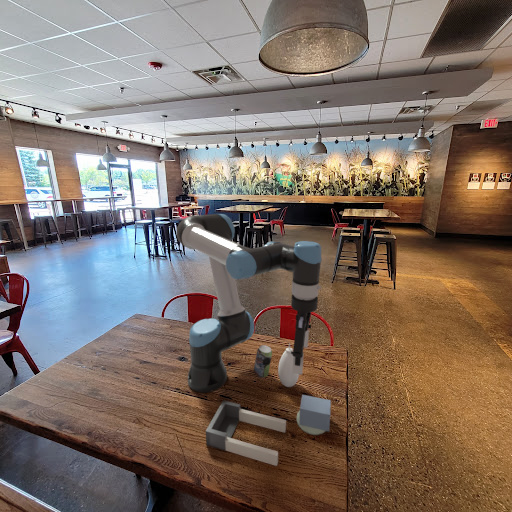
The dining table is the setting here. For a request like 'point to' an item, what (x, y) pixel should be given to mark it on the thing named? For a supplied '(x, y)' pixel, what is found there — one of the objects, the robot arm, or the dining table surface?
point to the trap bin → (222, 425)
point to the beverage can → (263, 361)
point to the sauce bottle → (287, 369)
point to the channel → (255, 450)
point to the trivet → (309, 428)
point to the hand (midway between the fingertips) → (300, 358)
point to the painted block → (315, 412)
